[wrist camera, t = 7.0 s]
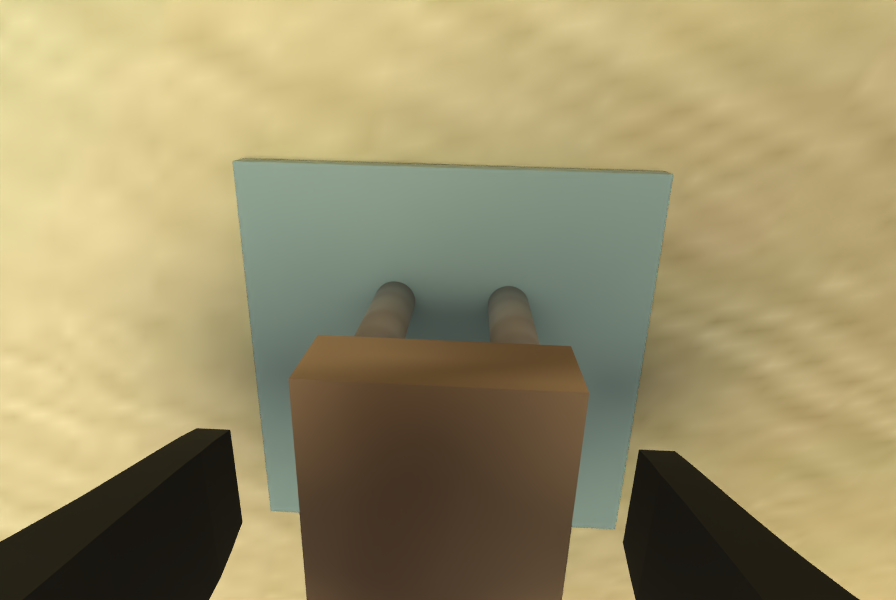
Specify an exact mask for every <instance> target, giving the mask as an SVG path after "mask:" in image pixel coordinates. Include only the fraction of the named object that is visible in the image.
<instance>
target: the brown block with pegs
mask: <svg viewBox="0 0 896 600" xmlns="http://www.w3.org/2000/svg"><path fill="white" fill-rule="evenodd" d="M414 306H415V296H414V294H413V292H412V290H411V289H410V288H409V287H408V286H407V285H405V284H403V283H401V282H396V281H392V282H387V283H385V284H383V285H382V286H381V287H380V288H379V289H378V290H377V292H376V294H375V296H374V298H373V300H372V302H371V304H370V306H369V308H368V310H367V312H366V314H365V316H364V318H363V320H362V322H361V324H360V326H359V328H358V330H357V332H356V334H355V335H354V336H333V335H317V337H316V338H315V340H314V341H313V343H312V344H311V346H310V347H309V349H308V350H307V352H306V353H305V355H304V356H303V358H302V359H301V361H300V362H299V364H298V365H297V367H296V368H295V370H294V371H293V373H292V374H291V376H290V377H289V391H290V403H291V415H292V427H293V439H294V451H295V463H296V475H297V487H298V499H299V511H300V523H301V535H302V547H303V559H304V571H305V583H306V595H307V600H562V595H563V587H564V580H565V572H566V565H567V557H568V550H569V542H570V534H571V527H572V519H573V512H574V504H575V497H576V489H577V482H578V474H579V467H580V459H581V452H582V444H583V437H584V429H585V422H586V414H587V407H588V399H589V391H588V388H587V386H586V383H585V381H584V378H583V375H582V373H581V370H580V368H579V365H578V363H577V360H576V357H575V355H574V352H573V350H572V347H571V346H558V345H540V344H539V340H538V336H537V332H536V328H535V325H534V321H533V317H532V313H531V310H530V306H529V302H528V298H527V296H526V295H525V293H524V292H523V291H522V290H520V289H519V288H516V287H513V286H504V287H501V288H499V289H497V290H496V291H494V292H493V293H492V295H491V296H490V298H489V301H488V316H489V332H490V342H468V341H446V340H423V339H405V337H406V333H407V330H408V327H409V323H410V320H411V316H412V313H413V310H414Z"/></svg>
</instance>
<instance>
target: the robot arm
mask: <svg viewBox="0 0 896 600" xmlns="http://www.w3.org/2000/svg"><path fill="white" fill-rule="evenodd" d="M241 525H242V515H241V508H240V500H239V493H238V485H237V478H236V470H235V463H234V455H233V447H232V440H231V432H230V430H220V429H200V428H196V429H195V430H193V431H191V432H189V433H187V434H185V435H183V436H181V437H179V438H178V439H176V440H174V441H173V442H171V443H169V444H167V445H166V446H164V447H162V448H161V449H159V450H157V451H156V452H154V453H152V454H151V455H149V456H147V457H146V458H144V459H143V460H141V461H139V462H138V463H136V464H134V465H133V466H131V467H129V468H128V469H126V470H124V471H123V472H121V473H119V474H118V475H116V476H114V477H113V478H111V479H109V480H108V481H106V482H104V483H103V484H101V485H99V486H98V487H96V488H95V489H93V490H91V491H90V492H88V493H86V494H85V495H83V496H81V497H79V498H78V499H76V500H74V501H72V502H71V503H69V504H67V505H65V506H63V507H62V508H60V509H58V510H56V511H55V512H53V513H51V514H49V515H47V516H46V517H44V518H42V519H40V520H39V521H37V522H35V523H33V524H31V525H30V526H28V527H26V528H24V529H22V530H21V531H19V532H17V533H15V534H14V535H12V536H10V537H8V538H6V539H5V540H3V541H1V542H0V600H209V599H210V597H211V595H212V593H213V591H214V589H215V587H216V585H217V583H218V582H219V580H220V578H221V575H222V573H223V570H224V568H225V566H226V563H227V561H228V558H229V556H230V553H231V551H232V548H233V546H234V543H235V540H236V538H237V535H238V532H239V530H240V527H241ZM623 545H624V550H625V554H626V559H627V564H628V568H629V573H630V578H631V582H632V586H633V590H634V594H635V599H636V600H859V599H858V598H856V597H855V596H853V595H852V594H851V593H849V592H848V591H847V590H845V589H844V588H843V587H841V586H840V585H839V584H837V583H836V582H835V581H833V580H832V579H831V578H829V577H828V576H827V575H825V574H824V573H823V572H821V571H820V570H819V569H818V568H816V567H815V566H814V565H812V564H811V563H810V562H808V561H807V560H806V559H804V558H803V557H802V556H801V555H799V554H798V553H797V552H796V551H794V550H793V549H792V548H790V547H789V546H788V545H787V544H785V543H784V542H783V541H782V540H780V539H779V538H778V537H777V536H776V535H774V534H773V533H772V532H771V531H769V530H768V529H767V528H766V527H765V526H763V525H762V524H761V523H760V522H759V521H757V520H756V519H755V518H754V517H752V516H751V515H750V514H749V513H748V512H747V511H745V510H744V509H743V508H742V507H741V506H739V505H738V504H737V503H736V502H735V501H734V500H732V499H731V498H730V497H729V496H728V495H727V494H725V493H724V492H723V491H722V490H721V489H720V488H718V487H717V486H716V485H715V484H714V483H713V482H711V481H710V480H709V479H708V478H707V477H706V476H704V475H703V474H702V473H701V472H700V471H699V470H697V469H696V468H695V467H694V466H693V465H691V464H690V463H689V462H688V461H687V460H685V459H684V458H683V457H682V456H680V455H679V454H678V453H676V452H675V451H656V450H639V453H638V459H637V465H636V471H635V476H634V482H633V488H632V494H631V500H630V505H629V511H628V517H627V523H626V528H625V534H624V540H623Z"/></svg>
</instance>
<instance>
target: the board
mask: <svg viewBox="0 0 896 600" xmlns="http://www.w3.org/2000/svg"><path fill="white" fill-rule="evenodd" d="M233 169H234V178H235V187H236V196H237V206H238V215H239V224H240V233H241V242H242V251H243V260H244V270H245V279H246V288H247V297H248V306H249V315H250V324H251V334H252V343H253V352H254V361H255V370H256V379H257V388H258V398H259V407H260V416H261V425H262V434H263V443H264V452H265V462H266V471H267V480H268V489H269V498H270V507H271V511H280V512H299V513H300V511H299V499H298V487H297V475H296V463H295V451H294V439H293V427H292V415H291V403H290V391H289V377H290V376H291V374H292V373H293V371H294V370H295V368H296V367H297V365H298V364H299V362H300V361H301V359H302V358H303V356H304V355H305V353H306V352H307V350H308V349H309V347H310V346H311V344H312V343H313V341H314V340H315V338H316V337H317V335H333V336H354V335H355V334H356V332H357V330H358V328H359V326H360V324H361V322H362V320H363V318H364V316H365V314H366V312H367V310H368V308H369V306H370V304H371V302H372V300H373V298H374V296H375V294H376V292H377V290H378V289H379V288H380V287H381V286H382V285H383V284H385V283H387V282H392V281H396V282H401V283H403V284H405V285H407V286H408V287H409V288H410V289H411V290H412V292H413V294H414V296H415V306H414V310H413V313H412V316H411V320H410V323H409V327H408V330H407V333H406V337H405V339H423V340H446V341H468V342H490V332H489V316H488V301H489V298H490V296H491V295H492V293H493V292H494V291H496V290H497V289H499V288H501V287H504V286H513V287H516V288H519V289H520V290H522V291H523V292H524V293H525V295H526V296H527V298H528V302H529V306H530V310H531V313H532V317H533V321H534V325H535V328H536V332H537V336H538V340H539V344H540V345H558V346H571V347H572V350H573V352H574V355H575V357H576V360H577V363H578V365H579V368H580V370H581V373H582V375H583V378H584V381H585V383H586V386H587V388H588V391H589V399H588V407H587V414H586V422H585V429H584V437H583V444H582V452H581V459H580V467H579V474H578V482H577V489H576V497H575V504H574V512H573V519H572V527H580V528H599V529H615V527H616V521H617V515H618V509H619V503H620V497H621V490H622V484H623V478H624V472H625V466H626V460H627V454H628V448H629V442H630V436H631V430H632V424H633V418H634V411H635V405H636V399H637V393H638V387H639V381H640V375H641V369H642V363H643V357H644V351H645V345H646V339H647V333H648V326H649V320H650V314H651V308H652V302H653V296H654V290H655V284H656V278H657V272H658V266H659V260H660V254H661V247H662V241H663V235H664V229H665V223H666V217H667V211H668V205H669V199H670V193H671V187H672V181H673V174H671V173H668V172H665V171H638V170H605V169H572V168H539V167H506V166H473V165H440V164H407V163H374V162H341V161H308V160H275V159H239V160H235V161H233Z"/></svg>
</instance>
